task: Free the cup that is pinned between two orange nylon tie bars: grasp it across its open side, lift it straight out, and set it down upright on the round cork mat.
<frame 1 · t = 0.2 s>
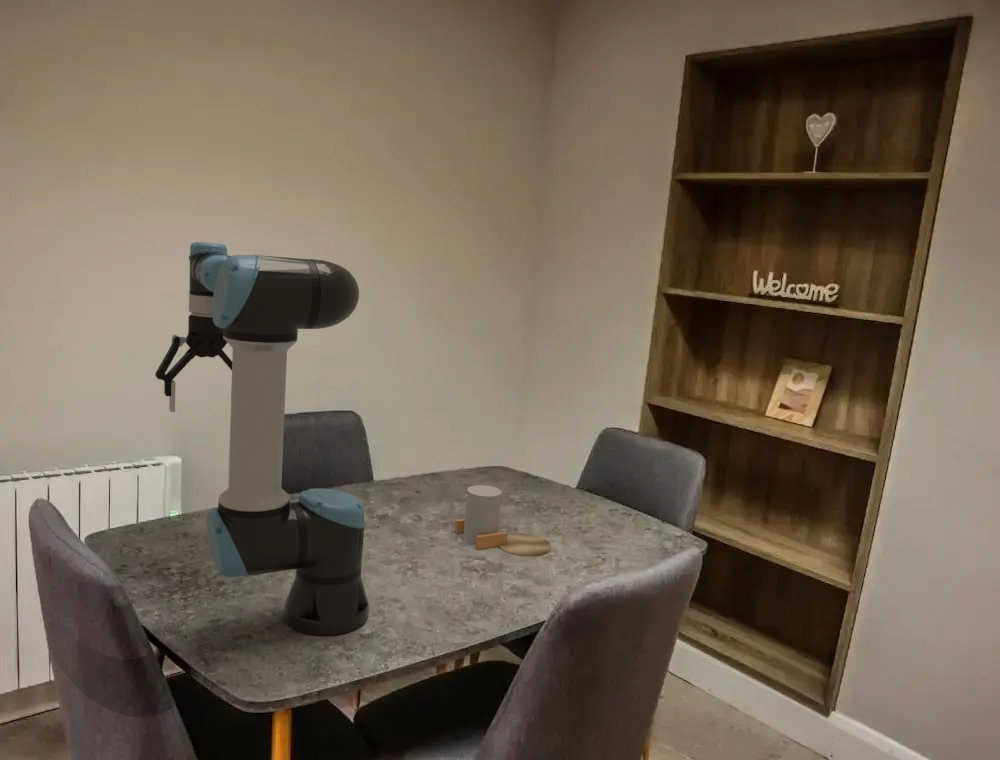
hand: (204, 409, 173), 28 cm above the table, fingers open, 13 cm apart
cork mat: (523, 545, 186), on the table
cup: (480, 539, 187), on the table
tie bars: (480, 538, 187), on the table
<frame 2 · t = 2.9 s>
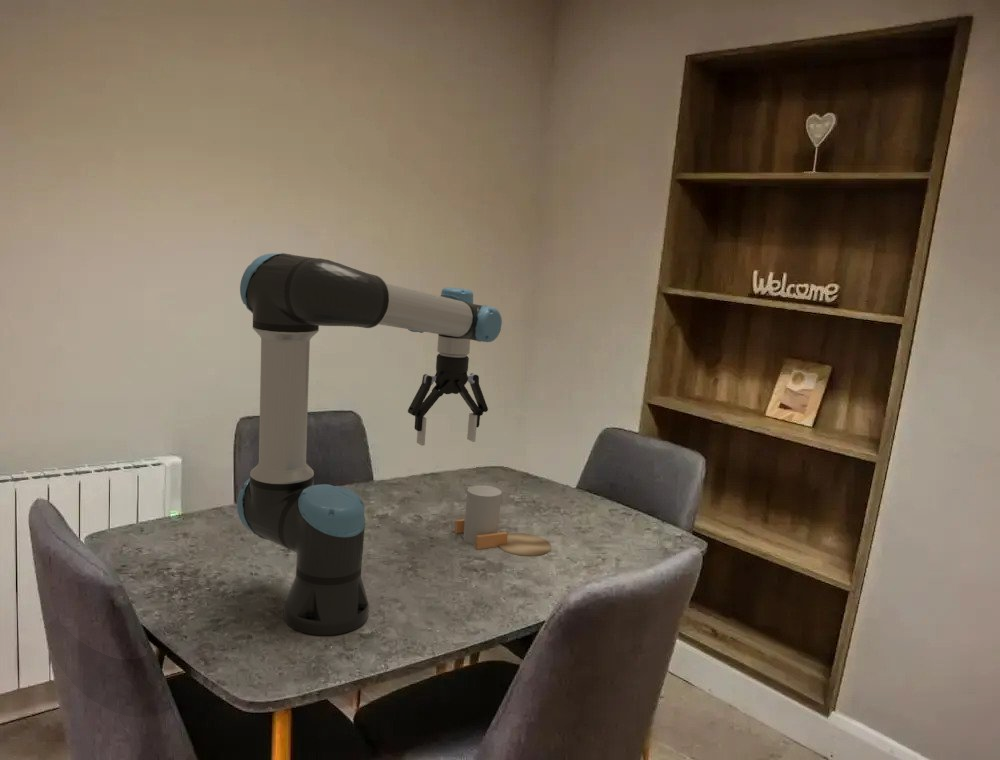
hand: (446, 442, 186), 22 cm above the table, fingers open, 13 cm apart
nothing on the table moved.
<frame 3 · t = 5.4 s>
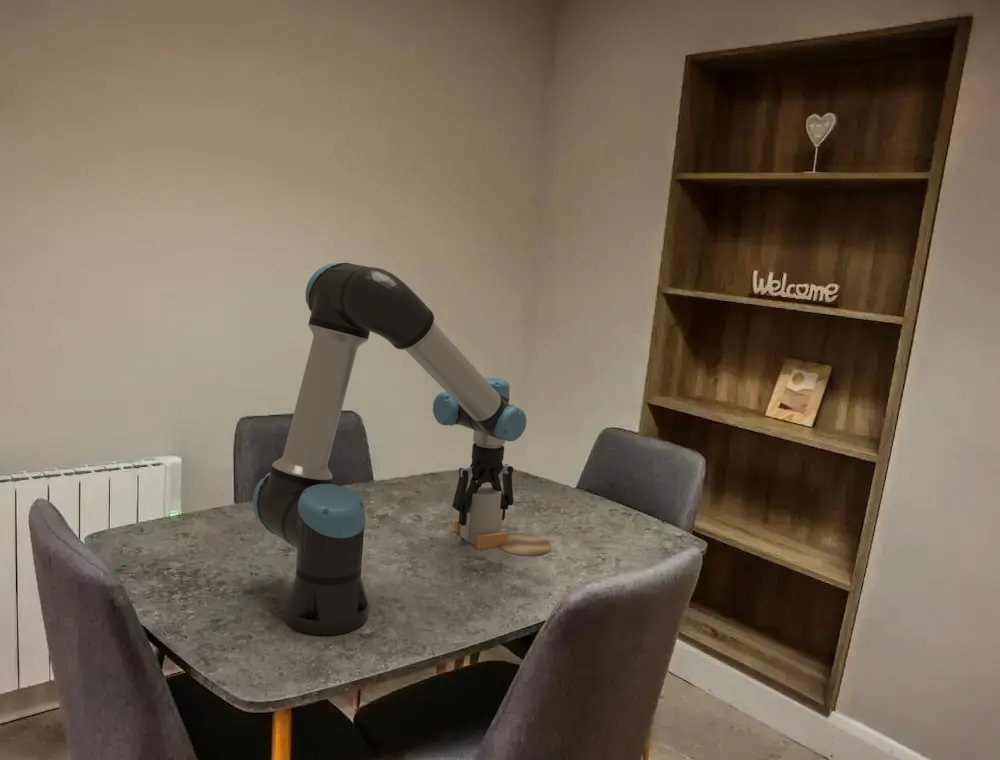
hand: (480, 535, 187), 1 cm above the table, fingers closed on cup, 8 cm apart
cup: (480, 539, 187), on the table, touching gripper
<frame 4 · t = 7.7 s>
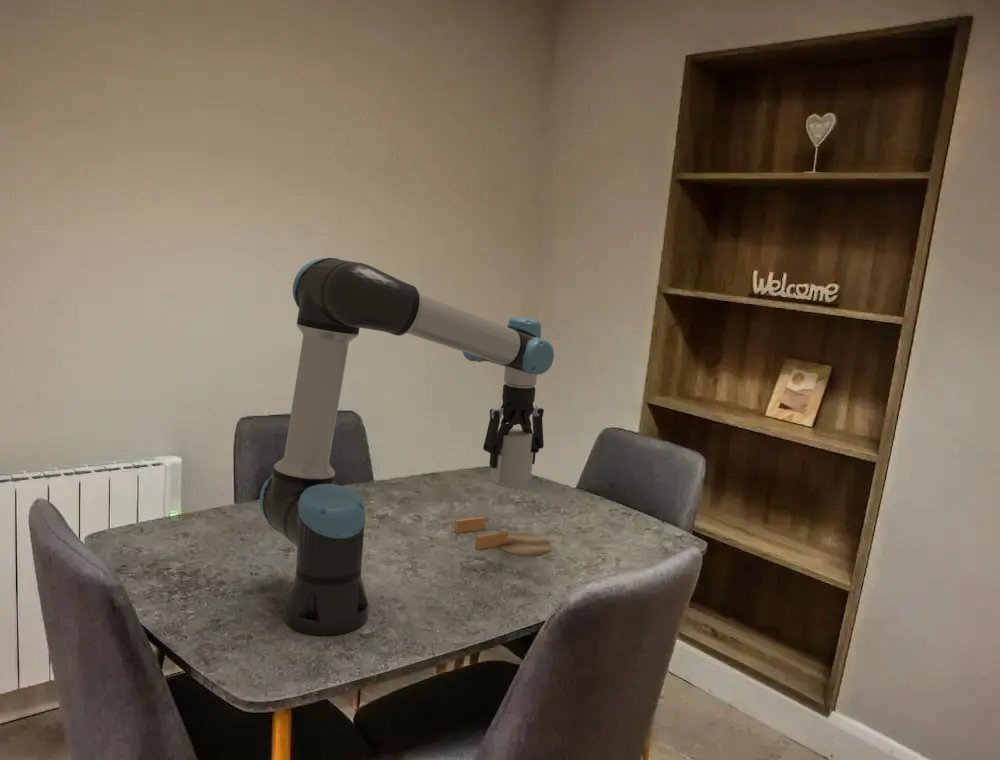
hand: (511, 479, 184), 16 cm above the table, fingers closed on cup, 8 cm apart
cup: (510, 483, 184), point 15 cm above the table, touching gripper
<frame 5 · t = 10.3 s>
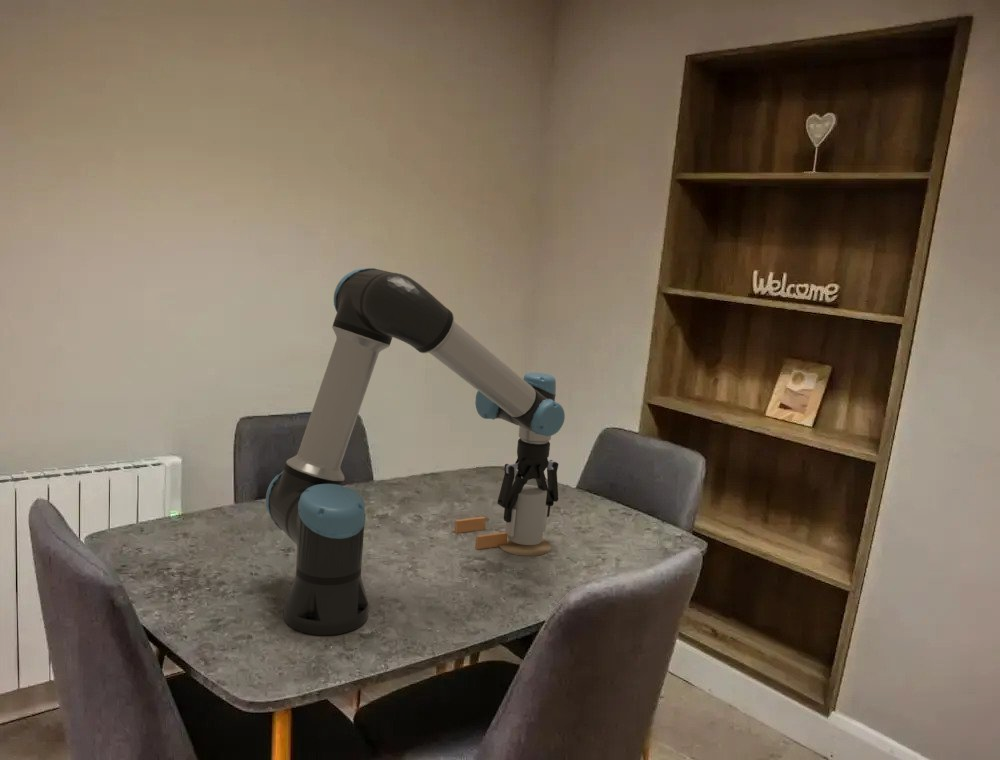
hand: (525, 532, 185), 3 cm above the table, fingers closed on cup, 8 cm apart
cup: (524, 539, 185), point 1 cm above the table, touching gripper
when the fingers open (3 cm above the table, at t = 10.7 s): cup stays where it is, resting on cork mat.
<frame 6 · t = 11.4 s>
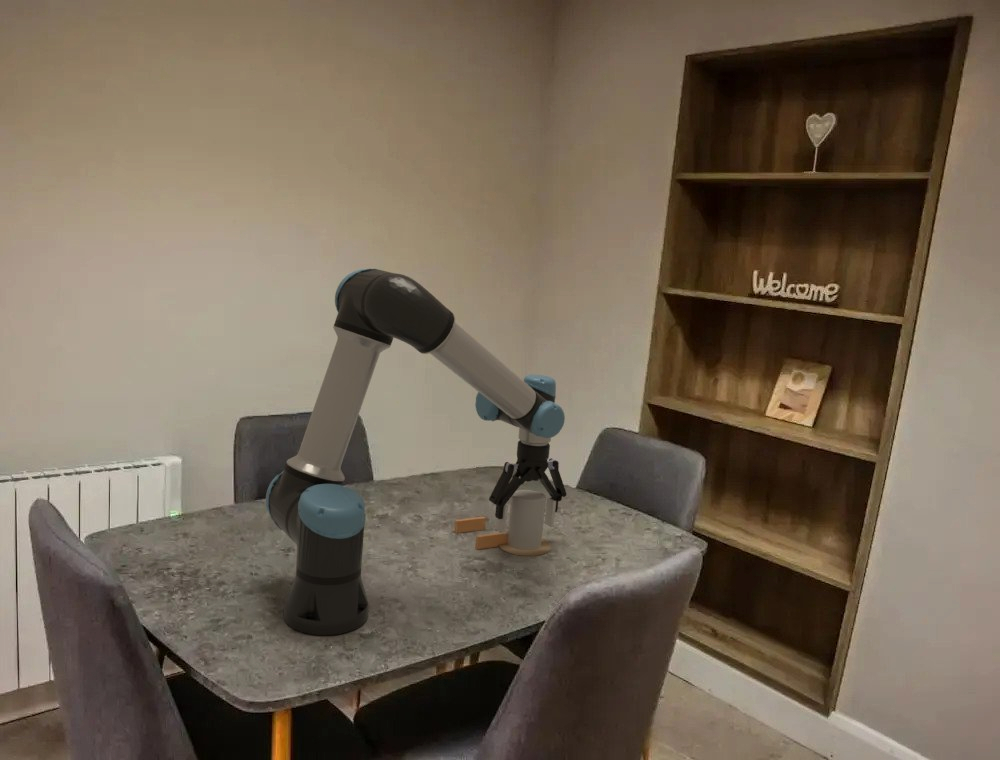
hand: (525, 528, 185), 4 cm above the table, fingers open, 13 cm apart
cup: (523, 544, 186), resting on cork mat
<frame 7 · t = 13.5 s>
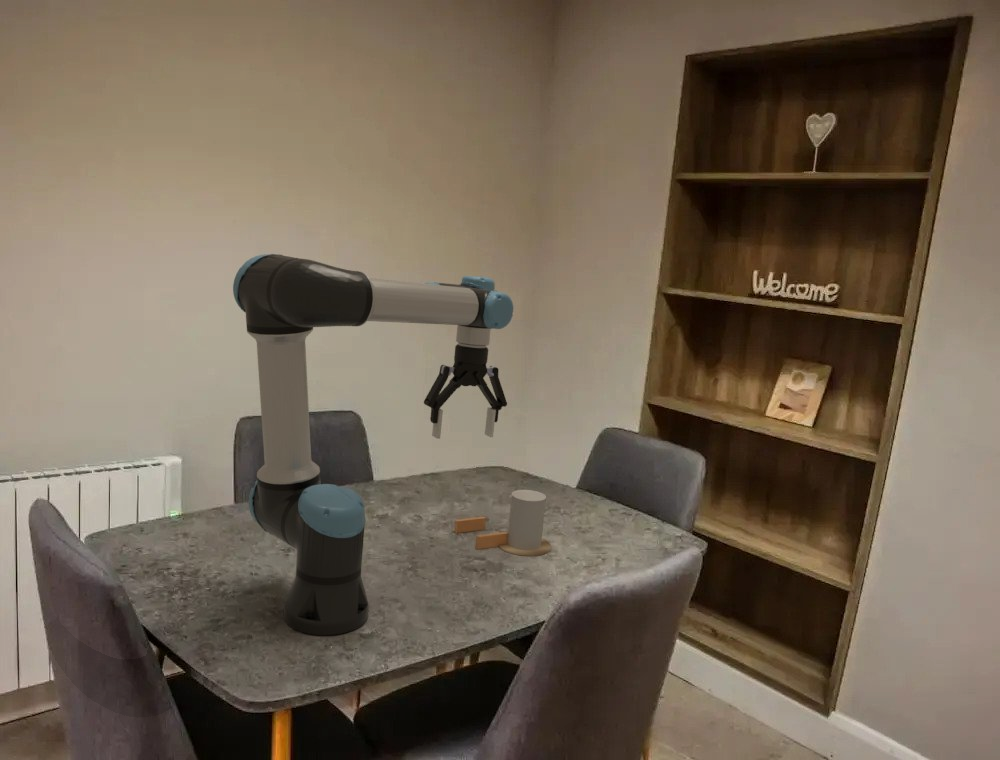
hand: (462, 436, 179), 26 cm above the table, fingers open, 13 cm apart
nothing on the table moved.
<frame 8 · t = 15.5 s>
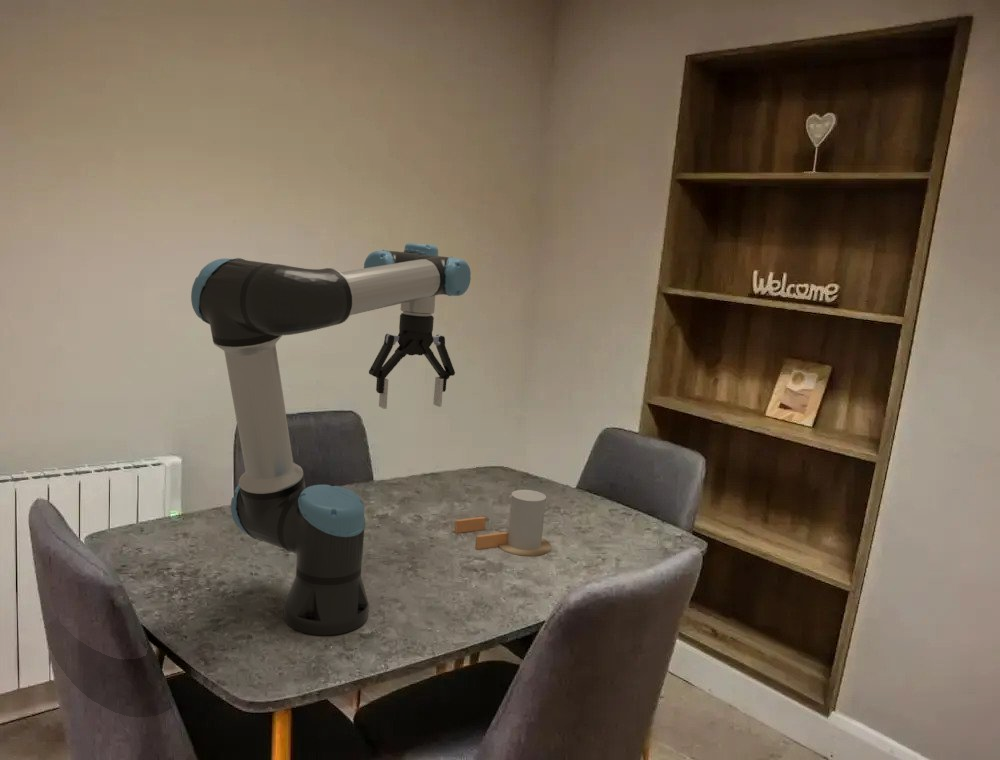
hand: (410, 406, 178), 32 cm above the table, fingers open, 13 cm apart
nothing on the table moved.
at the end: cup 0.1 cm from the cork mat (horizontally); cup tilted 0°; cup resting on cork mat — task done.
